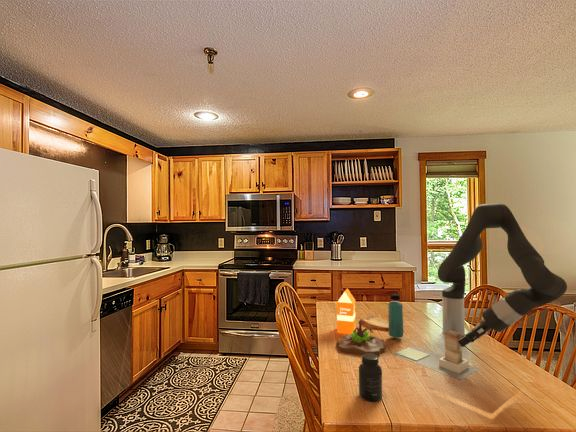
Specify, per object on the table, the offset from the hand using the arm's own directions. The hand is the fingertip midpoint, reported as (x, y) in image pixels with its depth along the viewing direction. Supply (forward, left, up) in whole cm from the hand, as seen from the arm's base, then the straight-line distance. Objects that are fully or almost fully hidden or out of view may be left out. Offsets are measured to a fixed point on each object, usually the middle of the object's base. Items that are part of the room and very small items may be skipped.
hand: (464, 341), depth 111 cm
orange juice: (+1, -55, -11) cm, 57 cm away
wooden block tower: (+1, -3, -10) cm, 11 cm away
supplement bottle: (+39, -9, -11) cm, 41 cm away
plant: (+10, -38, -12) cm, 41 cm away
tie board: (+2, -10, -11) cm, 15 cm away
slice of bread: (-19, -51, -12) cm, 56 cm away
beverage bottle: (-9, -34, -11) cm, 37 cm away
